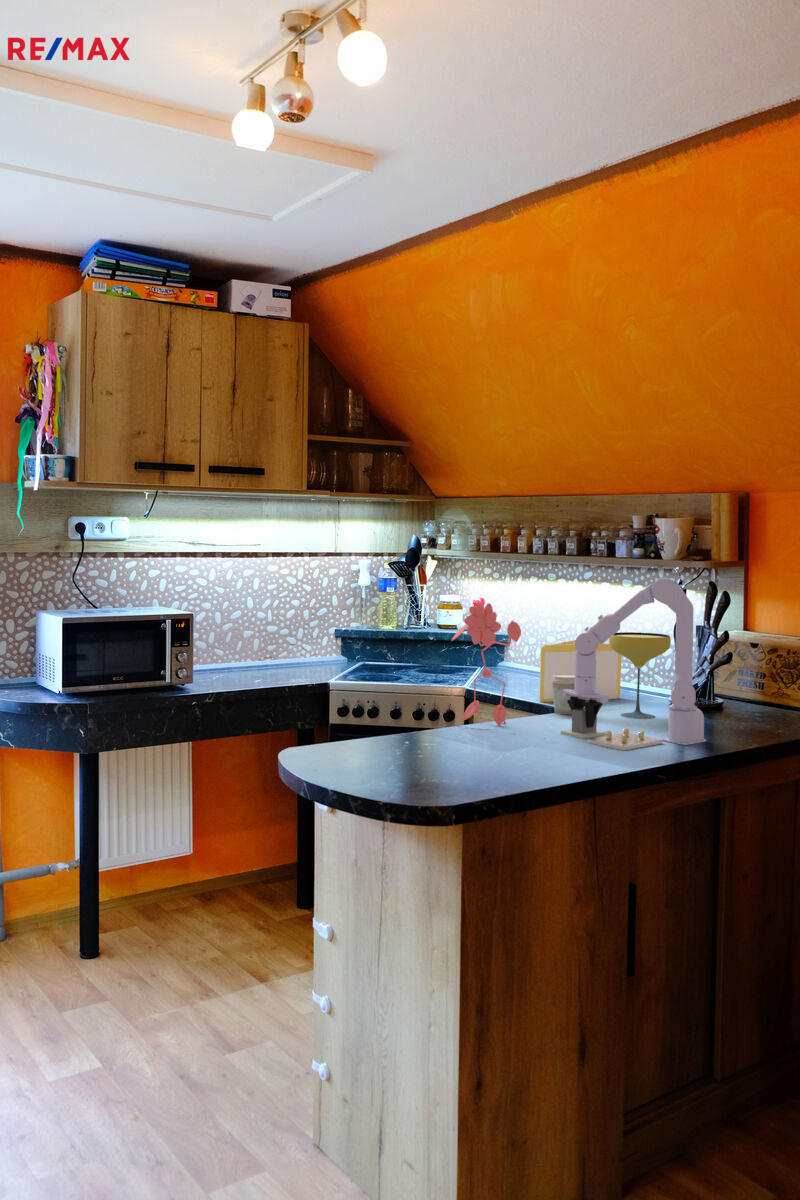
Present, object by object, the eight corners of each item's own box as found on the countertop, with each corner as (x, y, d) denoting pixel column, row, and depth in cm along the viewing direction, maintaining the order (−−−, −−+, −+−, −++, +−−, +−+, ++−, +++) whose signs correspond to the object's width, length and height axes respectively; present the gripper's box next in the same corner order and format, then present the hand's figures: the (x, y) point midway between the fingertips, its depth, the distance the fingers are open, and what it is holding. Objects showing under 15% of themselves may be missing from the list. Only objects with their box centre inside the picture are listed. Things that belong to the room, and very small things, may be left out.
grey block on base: (585, 730, 279) (586, 705, 279) (607, 735, 273) (608, 710, 272) (560, 734, 273) (561, 709, 273) (582, 739, 267) (583, 713, 266)
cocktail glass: (657, 724, 291) (660, 638, 289) (598, 717, 300) (600, 635, 299) (675, 715, 306) (678, 634, 305) (618, 709, 316) (620, 631, 314)
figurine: (461, 716, 299) (463, 599, 297) (530, 728, 281) (533, 604, 279) (426, 722, 288) (428, 601, 286) (495, 735, 270) (498, 606, 268)
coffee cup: (549, 716, 302) (550, 676, 301) (551, 711, 310) (552, 673, 309) (577, 717, 300) (578, 678, 299) (579, 713, 308) (580, 674, 307)
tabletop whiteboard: (570, 691, 355) (571, 636, 354) (629, 696, 344) (631, 640, 343) (531, 704, 325) (532, 644, 324) (595, 710, 314) (596, 648, 313)
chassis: (626, 736, 272) (626, 725, 271) (662, 743, 262) (663, 732, 262) (587, 742, 262) (587, 731, 261) (623, 750, 252) (624, 738, 252)
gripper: (555, 674, 275) (554, 723, 276) (596, 680, 264) (595, 731, 265) (572, 672, 280) (571, 720, 280) (613, 678, 268) (612, 728, 269)
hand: (584, 726), depth 273 cm, fingers closed on grey block on base, 4 cm apart
